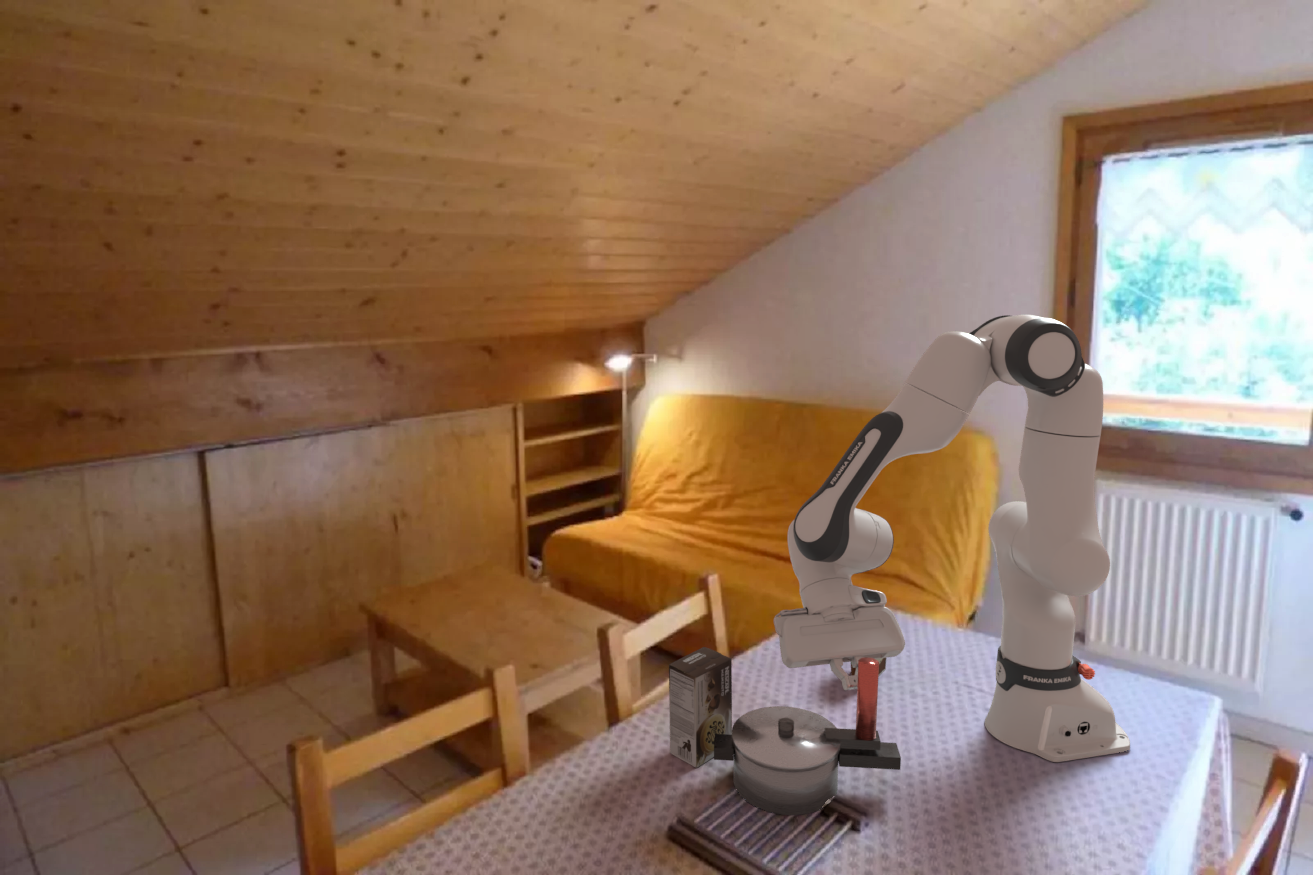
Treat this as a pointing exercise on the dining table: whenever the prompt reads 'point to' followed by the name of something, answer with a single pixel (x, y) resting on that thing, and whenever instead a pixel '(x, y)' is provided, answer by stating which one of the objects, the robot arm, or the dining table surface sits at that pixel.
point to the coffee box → (699, 704)
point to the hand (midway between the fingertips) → (854, 688)
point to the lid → (808, 730)
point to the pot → (798, 777)
